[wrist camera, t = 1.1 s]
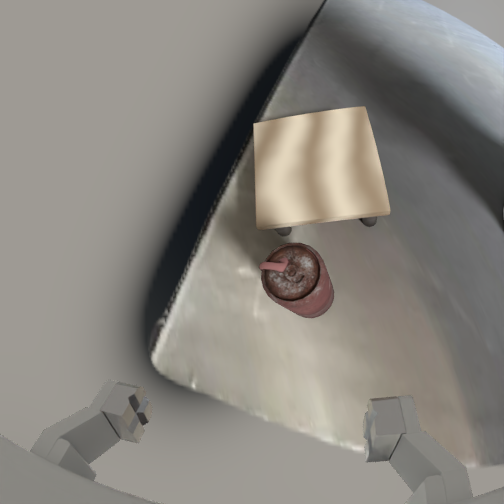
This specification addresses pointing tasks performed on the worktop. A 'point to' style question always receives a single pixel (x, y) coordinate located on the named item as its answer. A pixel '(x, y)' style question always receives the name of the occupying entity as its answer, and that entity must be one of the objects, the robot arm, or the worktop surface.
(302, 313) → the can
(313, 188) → the small table
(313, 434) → the worktop surface
